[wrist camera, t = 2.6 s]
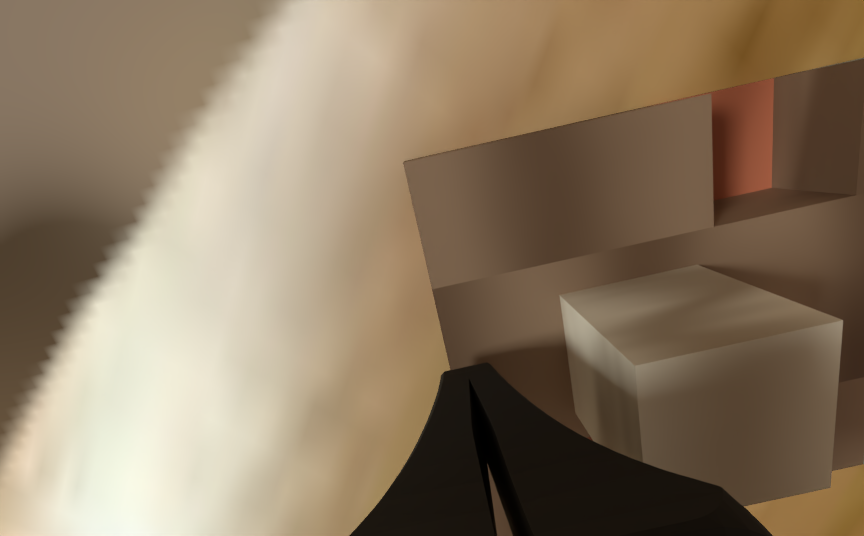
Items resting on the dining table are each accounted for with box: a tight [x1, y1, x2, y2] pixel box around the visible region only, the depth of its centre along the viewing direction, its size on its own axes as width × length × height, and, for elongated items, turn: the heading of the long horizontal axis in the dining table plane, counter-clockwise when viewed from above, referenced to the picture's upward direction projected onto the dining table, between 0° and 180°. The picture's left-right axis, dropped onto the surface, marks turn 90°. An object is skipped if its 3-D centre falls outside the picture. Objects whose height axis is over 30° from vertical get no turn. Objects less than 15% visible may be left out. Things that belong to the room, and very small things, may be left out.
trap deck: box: [403, 58, 864, 536], centre depth 13 cm, size 18×13×4 cm
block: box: [560, 265, 843, 506], centre depth 10 cm, size 4×4×4 cm
